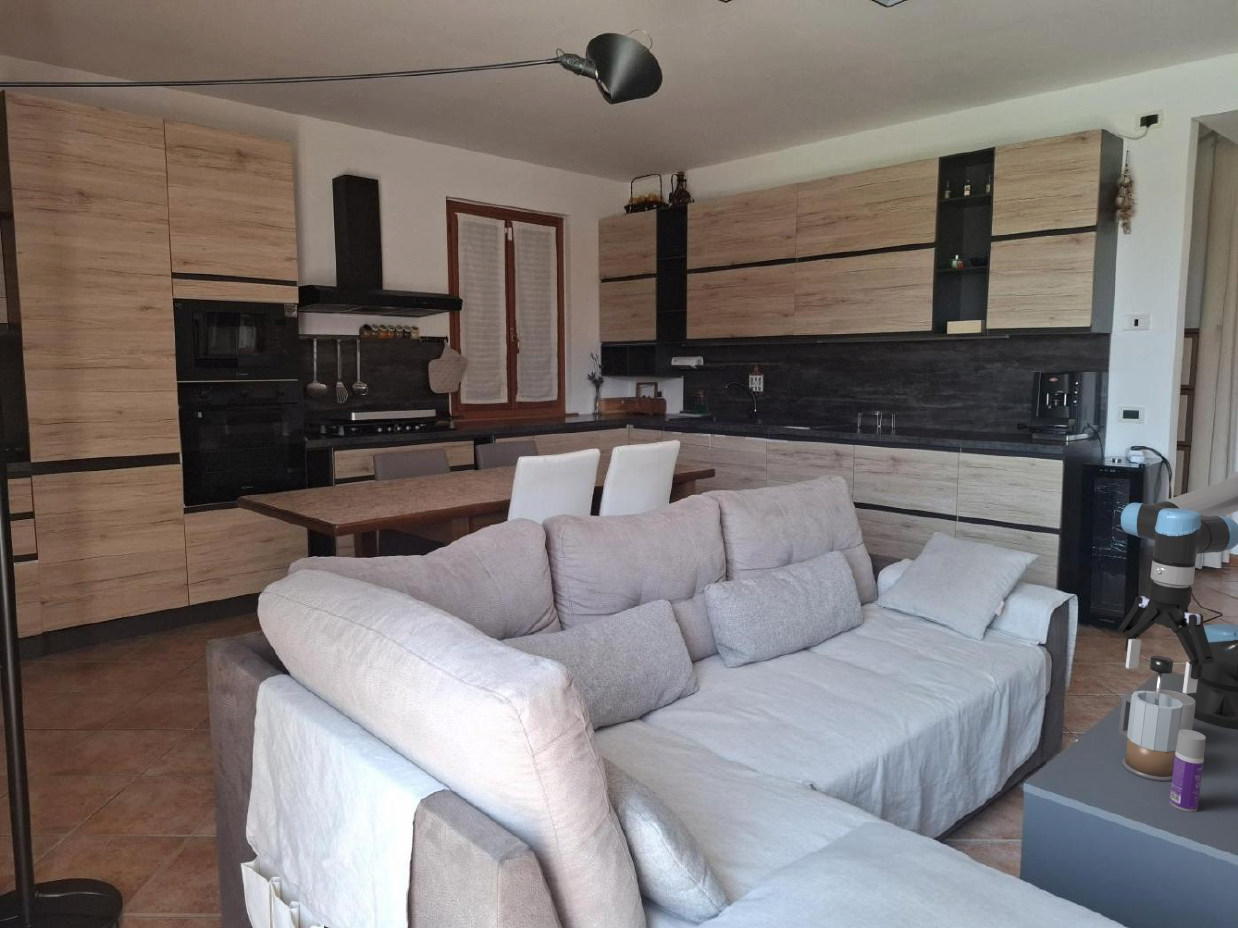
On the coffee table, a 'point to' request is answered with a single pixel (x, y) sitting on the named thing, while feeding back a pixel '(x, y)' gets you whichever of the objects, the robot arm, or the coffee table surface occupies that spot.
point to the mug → (1184, 708)
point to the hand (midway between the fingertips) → (1159, 679)
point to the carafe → (1150, 734)
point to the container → (1187, 770)
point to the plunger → (1160, 671)
